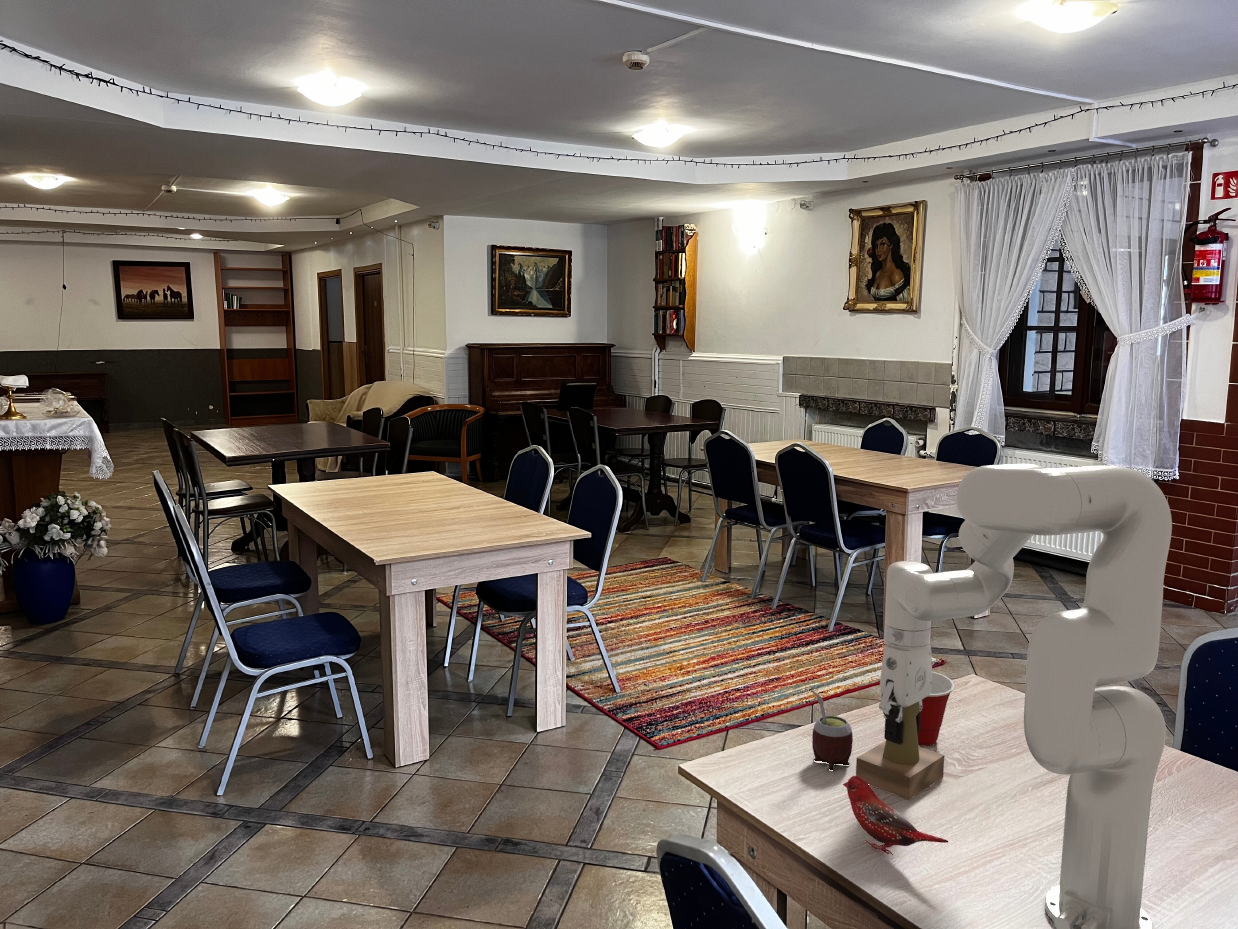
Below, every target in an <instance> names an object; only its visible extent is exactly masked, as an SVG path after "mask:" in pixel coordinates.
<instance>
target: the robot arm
mask: <svg viewBox="0 0 1238 929" xmlns="http://www.w3.org/2000/svg"><path fill="white" fill-rule="evenodd" d="M956 506H957V510H958V513H959V514H960V516H961V517H962V518H963V519H964V521H963V522H962V524H961V525H960V528H959V530H958V539H959V543H960V546H961V547H962V549H963V550H964V552H965V553H966V554H967V555H968V556H969V557H970V558H971V559H972V560H973V561H974V562H973V563H972V564H971V565H970V566H969V567H968V568H966V569H962V570H949V571H941V572H938V571H937V572H934V571H933V569H932V568H931V567H930V566H929V565H927V564H925V563H922V562H918V561H910V560H902V561H901V560H900V561H896V562H893V563H891V564H890V565H889V566H888V567H887V572H886V588H885V589H886V590H885V607H884V611H885V612H884V631H883V633H884V634H883V643H885V645H884V650H883V656H882V661H881V662H882V663H881V669H880V678H879V680H880V681H879V696H880V702H879V703H878V709H879V710H880V711H881V712H882V713H883V719H885V720H884V736H883V737H884V740H885V741H886V740H888V741H891V742H894V743H897V744H902V743H903V731H904V722H903V721H901V720H902V715H903V710H904V707H909V706H911V705H913V704H914V703H916V702H918V701H919V704H920V709H919V711H921V710H922V701H923V699H924V698H925V697H927V696H928V695H929V694H930V693H931V690H932V672H933V658H932V656H933V654H932V646H931V634H932V633H931V631H932V622H937V621H945V620H950V619H958V618H967V617H974V616H979V615H982V614H984V613H985V612H987V611H988V610H990V609H991V608H992V607H993V606H995V604H996V603H997V602H998V601H999V600H1000V599H1001V598H1002V597H1003V596H1005V594H1006V593H1007V591H1009V588H1010V587H1011V585H1012V582H1013V579H1014V572H1015V563H1014V559H1013V558H1014V557H1015V556H1016V555H1017V554H1018V553H1019V552H1020V550H1022V548H1023V547H1024V546H1025V545H1026V544H1027V543H1028V542H1029V541H1030V540H1031V539H1032V537H1033V536H1062V535H1073V534H1074V535H1075V534H1084V533H1085V534H1086V533H1094V532H1100V533H1102V534H1103V538H1102V540H1101V541H1100V543H1099V544H1098V546H1097V547H1096V549H1095V551H1094V552H1093V554H1092V556H1091V558H1090V561H1089V564H1088V567H1087V571H1086V576H1085V578H1086V579H1085V580H1086V584H1085V585H1086V586H1085V592H1084V593H1085V594H1084V599H1083V604H1082V606H1081V607H1079V608H1076V609H1070V610H1069V609H1068V610H1063V611H1057V612H1054V613H1052V614H1049V615H1048V616H1046V617H1044V618H1042V620H1040V621H1039V622H1038V624H1037V625H1036V626H1035V628H1034V629H1033V631H1032V634H1031V636H1030V639H1029V642H1028V646H1027V656H1026V671H1025V673H1026V674H1025V686H1024V687H1025V688H1024V703H1023V704H1024V708H1023V730H1024V736H1025V741H1026V745H1027V748H1028V750H1029V751H1030V754H1031V755H1032V757H1033V759H1034V760H1035V761H1036V762H1037V764H1039V765H1040V766H1041V767H1042V768H1043V769H1045V770H1047V771H1048V772H1051V773H1053V774H1057V775H1065V776H1066V775H1067V776H1068V775H1069V777H1068V783H1067V788H1066V798H1065V800H1066V801H1065V812H1064V825H1063V837H1062V838H1063V839H1062V850H1061V861H1060V862H1061V865H1060V874H1059V875H1060V877H1059V885H1057V886H1055V887H1053V888H1051V889H1049V891H1048V892H1047V893H1046V895H1045V902H1044V907H1045V912H1046V914H1047V915H1048V917H1049V918H1050V919H1051V920H1052V922H1053V923H1054V927H1055V928H1056V929H1154V924H1153V920H1152V919H1151V916H1149V915H1148V913H1147V912H1146V911H1145V910H1144V909H1143V908H1142V899H1143V898H1142V897H1143V887H1144V878H1145V877H1144V876H1145V865H1146V854H1147V845H1148V832H1149V821H1150V815H1151V814H1150V813H1151V804H1152V802H1151V801H1152V795H1153V788H1154V782H1155V778H1156V774H1157V770H1158V769H1159V764H1160V762H1161V758H1162V756H1163V751H1164V748H1165V744H1166V738H1167V726H1166V721H1165V718H1164V714H1163V713H1162V710H1161V709H1160V707H1159V706H1158V705H1157V703H1156V701H1154V699H1153V698H1152V697H1150V696H1149V695H1148V694H1146V693H1145V692H1143V691H1141V690H1139V689H1137V688H1133V687H1129V686H1122V685H1115V684H1119V683H1125V682H1131V681H1135V680H1139V679H1142V678H1143V677H1146V676H1147V675H1149V674H1151V673H1152V671H1154V669H1155V668H1156V664H1157V662H1158V657H1159V651H1160V650H1159V649H1160V639H1161V627H1162V626H1161V625H1162V615H1163V614H1162V612H1163V600H1164V579H1165V573H1166V566H1167V561H1168V555H1169V550H1170V546H1171V545H1170V544H1171V540H1172V539H1171V538H1172V530H1173V520H1172V514H1171V509H1170V505H1169V502H1168V500H1167V498H1166V497H1165V494H1164V493H1163V491H1162V490H1161V488H1160V487H1159V485H1158V484H1156V482H1154V480H1152V479H1151V478H1150V477H1148V475H1146V474H1144V473H1143V472H1140V471H1138V470H1135V469H1132V468H1129V467H1125V466H1120V465H1119V466H1118V465H1087V466H1076V467H1075V466H1074V467H1073V466H1072V467H1058V468H1057V467H1056V468H1055V467H1054V468H1053V467H1052V468H1046V467H1044V466H1042V465H1039V464H1034V463H1033V464H1032V463H1013V464H1011V463H1010V464H992V465H991V464H990V465H981V466H979V467H976V468H973V469H972V470H970V471H969V472H967V474H966V475H965V476H964V477H963V478H962V479H961V480H960V483H959V485H958V487H957V491H956ZM1106 685H1109V686H1106ZM1110 685H1111V686H1110ZM892 698H896V701H897V702H896V701H893V700H892ZM892 705H894V706H897V707H898V709H897V712H896V711H895V709H893V708H891V707H892ZM920 717H921V712H919V713H918V715H917V716H916V724H917V734H919V733H920Z"/></svg>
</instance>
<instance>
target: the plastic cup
mask: <svg viewBox="0 0 1238 929" xmlns="http://www.w3.org/2000/svg"><path fill="white" fill-rule="evenodd" d="M954 688H955V684H954V682H953V680H952V679H950V678H949V677H948V676H946V675H944V674H942V673H941V674H940V673H938V672H936V671H932V690H931V693H930V694H929V695H928V696H927V697H925V698H924V699H923V701H922V710H921V711H919V712H921V717H920V733H919V734H917V736H918V746H921V745H923V747H929V746H934V745H936V744H937V741H938V738H939V735H940V730H941V727H942V723H943V720H944V716H945V712H946V708H947V703H948V700H949V697H950V695H951V694H952V693H953V690H954ZM933 744H934V745H933Z"/></svg>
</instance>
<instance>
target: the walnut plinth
mask: <svg viewBox="0 0 1238 929" xmlns="http://www.w3.org/2000/svg"><path fill="white" fill-rule="evenodd" d="M885 743H886V740H885V741H883V742H881V743H880V744H877V745H876V746H874V747H873V748H871V749H869V750H867V751H866V752H864V753H862V754H861V755H858V756H857V757H856V762H855V763H856V765H855V776H858V777H860V778H862V779H863V780H864V781H865V782H866V783H867V784H870V785H869V786H871V785H872V787H873V786H874V788H876V787H877V788H876V789H879V790H881V791H884V792H886V793H889V794H892V795H893V796H897V797H899V798H902V799H904V800H907V801H910V800H912V799H913V798H914V797H916V796H917V795H920V794H921V792H923V791H925V790H926V789H928V788H929V787H931V786H933V784H935V783H937V782H938V781H939V780H941V779H942V778H944V768H945V766H944V765H945V754H942V753H939V752H937V751H934V750H931V749H928V748H925V747H921V746H920V745H918V747H919V762H917V763H915V764H911V765H902V764H896V763H893V762H891V761H889V760H887V759H886V758H884V756H883V753H884V748H885Z"/></svg>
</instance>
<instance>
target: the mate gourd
mask: <svg viewBox="0 0 1238 929" xmlns="http://www.w3.org/2000/svg"><path fill="white" fill-rule="evenodd" d="M810 692H811V693H812V694H813V695H814V696H816V698H817V701H818V704H819V707H820V711H821V712H820V713H821V717H819V718H818V719H817V720H816V721H815V723H814V724H813V725H814V726H813V728H812V737H811V738H812V740H811V741H812V745H811V746H812V750H813V755H814V758H813V761H814V760H815V761H822V762H827V763H829V765H828V770H829V769H830V770H833V771H834V768H833V767H835V765H834V764H843V765H849V766H850V762H849V760H850V757H851V754H852V752H853V751H852V750H853V741H854V740H853V739H854V738H853V737H854V736H853V731H852V726H851V725H850V723H849V722H848V721H847V720H846V719H845V718H843V717H840V716H836V715H826V711H825V707H824V700H823V698H822V697H821V696H820V694H819V693H817V692H816V691H814V690H813V689H812V690H810Z"/></svg>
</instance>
